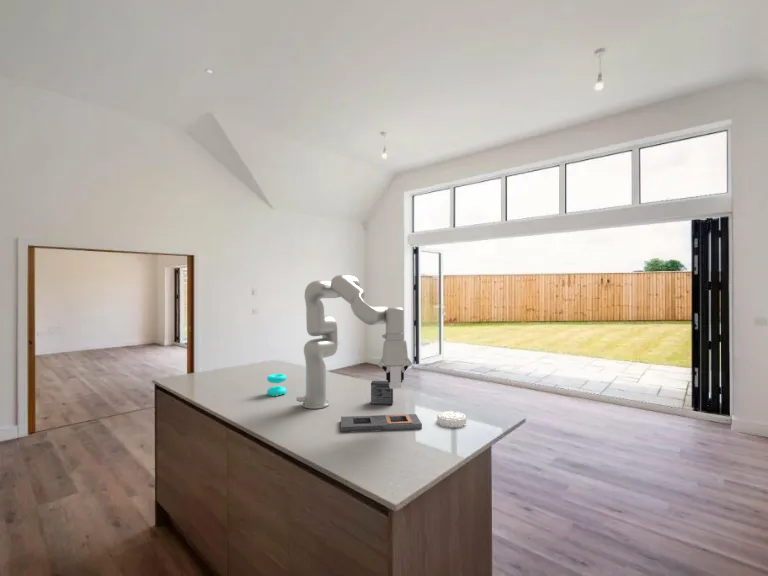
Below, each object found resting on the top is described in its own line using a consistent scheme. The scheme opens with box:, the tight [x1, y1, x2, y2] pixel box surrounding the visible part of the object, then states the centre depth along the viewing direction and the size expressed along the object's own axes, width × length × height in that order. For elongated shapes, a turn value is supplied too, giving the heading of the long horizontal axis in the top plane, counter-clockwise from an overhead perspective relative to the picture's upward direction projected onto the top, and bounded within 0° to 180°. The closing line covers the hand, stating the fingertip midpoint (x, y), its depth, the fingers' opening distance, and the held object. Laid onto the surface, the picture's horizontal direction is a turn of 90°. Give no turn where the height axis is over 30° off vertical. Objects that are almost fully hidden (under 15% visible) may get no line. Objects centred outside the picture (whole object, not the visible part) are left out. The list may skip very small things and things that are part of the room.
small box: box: [370, 380, 394, 406], centre depth 185 cm, size 11×6×10 cm, turn 84°
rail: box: [340, 413, 423, 433], centre depth 155 cm, size 32×12×2 cm, turn 96°
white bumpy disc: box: [436, 410, 467, 428], centre depth 158 cm, size 12×12×4 cm
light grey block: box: [389, 366, 402, 390], centre depth 155 cm, size 4×4×9 cm
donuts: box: [266, 373, 287, 397], centre depth 201 cm, size 10×10×10 cm
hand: (395, 381), depth 155 cm, fingers closed on light grey block, 4 cm apart
